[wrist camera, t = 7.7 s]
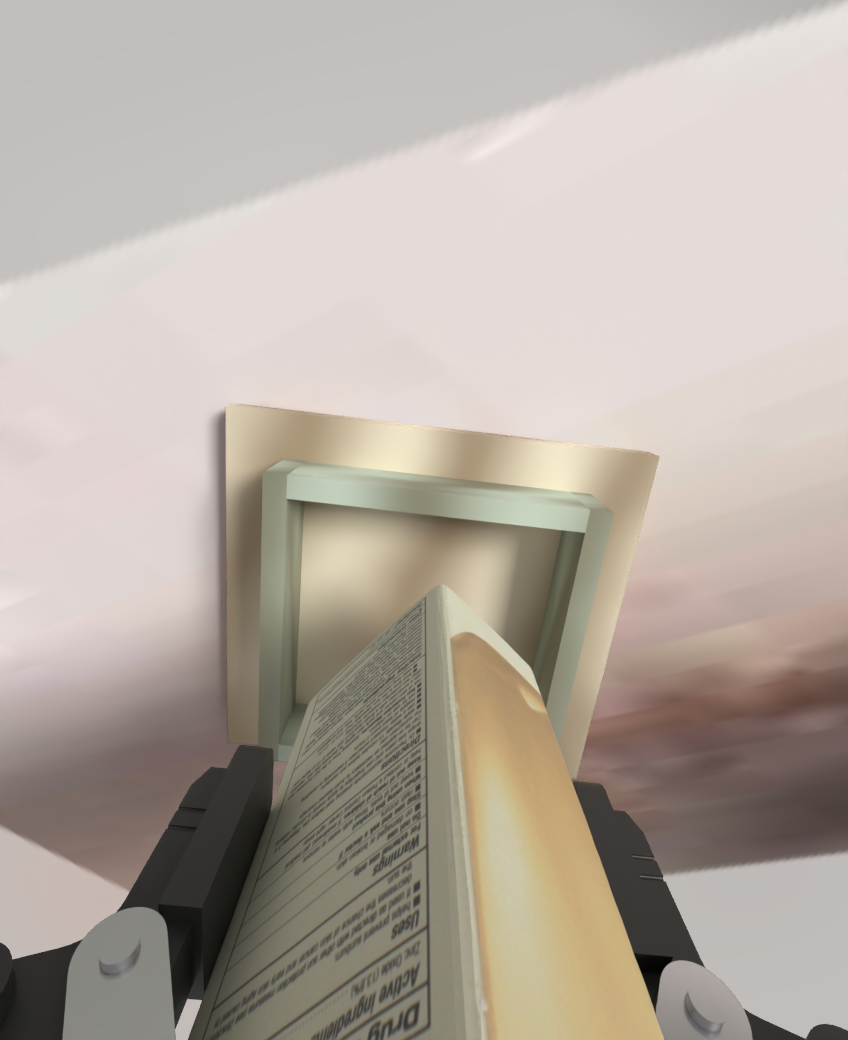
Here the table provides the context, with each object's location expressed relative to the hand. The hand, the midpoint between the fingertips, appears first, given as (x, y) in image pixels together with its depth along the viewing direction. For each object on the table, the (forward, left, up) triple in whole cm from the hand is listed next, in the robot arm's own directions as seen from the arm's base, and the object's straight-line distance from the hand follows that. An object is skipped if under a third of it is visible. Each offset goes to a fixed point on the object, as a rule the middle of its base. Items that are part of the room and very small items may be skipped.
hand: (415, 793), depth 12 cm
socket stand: (0, 0, -10) cm, 10 cm away
